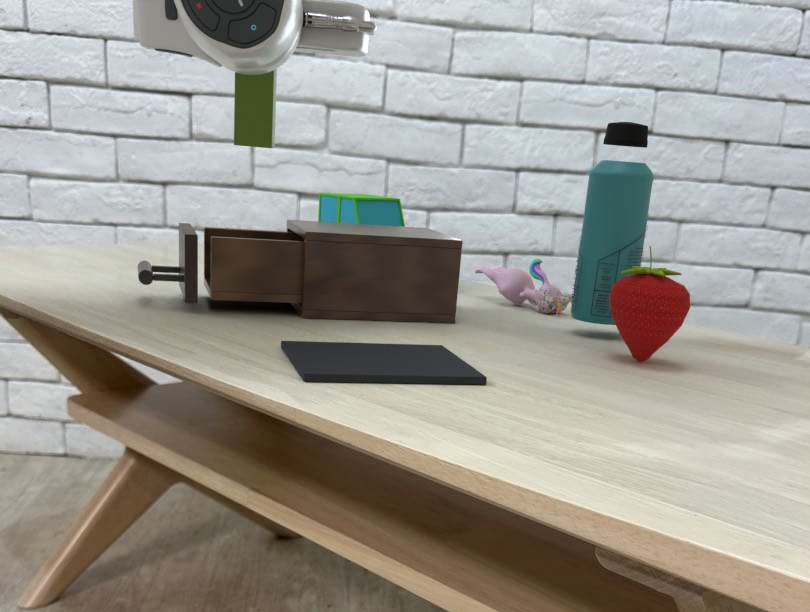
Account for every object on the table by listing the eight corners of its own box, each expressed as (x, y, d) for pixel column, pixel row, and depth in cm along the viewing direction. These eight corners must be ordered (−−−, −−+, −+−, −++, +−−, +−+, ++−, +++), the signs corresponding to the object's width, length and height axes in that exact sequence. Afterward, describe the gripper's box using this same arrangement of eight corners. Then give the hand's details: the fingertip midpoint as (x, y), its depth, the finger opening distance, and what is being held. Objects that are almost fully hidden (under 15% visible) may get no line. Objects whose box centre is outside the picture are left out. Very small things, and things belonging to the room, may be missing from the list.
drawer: (139, 301, 93) (137, 231, 91) (137, 283, 103) (136, 220, 101) (335, 308, 98) (338, 242, 96) (315, 291, 108) (318, 230, 106)
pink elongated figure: (582, 326, 113) (495, 285, 123) (596, 275, 111) (506, 236, 120) (544, 329, 110) (457, 286, 119) (557, 276, 107) (468, 236, 116)
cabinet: (302, 318, 97) (305, 231, 94) (284, 297, 108) (286, 219, 105) (455, 323, 101) (462, 240, 98) (422, 302, 112) (428, 228, 109)
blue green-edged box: (385, 291, 118) (391, 203, 114) (309, 275, 126) (313, 192, 123) (441, 287, 125) (448, 204, 122) (366, 273, 133) (371, 194, 130)
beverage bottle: (617, 343, 97) (651, 122, 90) (555, 332, 100) (583, 117, 93) (640, 335, 102) (674, 126, 95) (580, 325, 106) (609, 122, 98)
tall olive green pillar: (233, 145, 92) (236, -54, 86) (238, 144, 97) (241, -42, 92) (271, 148, 92) (277, -50, 86) (274, 147, 98) (279, -38, 92)
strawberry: (654, 373, 85) (674, 252, 81) (585, 355, 90) (602, 240, 86) (693, 367, 89) (715, 251, 85) (626, 351, 94) (643, 240, 90)
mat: (303, 381, 72) (304, 373, 72) (280, 347, 83) (280, 340, 83) (486, 384, 76) (487, 377, 76) (441, 351, 86) (442, 345, 86)
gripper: (380, -19, 79) (371, 2, 92) (117, -46, 77) (145, -20, 90) (375, 68, 81) (367, 77, 94) (119, 45, 79) (147, 57, 92)
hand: (257, 30), depth 92 cm, fingers closed on tall olive green pillar, 3 cm apart
